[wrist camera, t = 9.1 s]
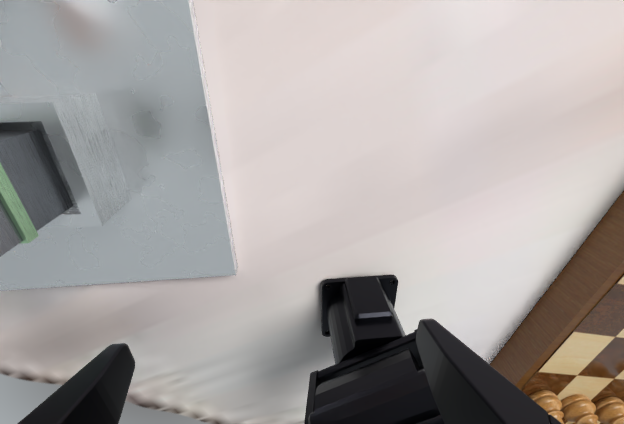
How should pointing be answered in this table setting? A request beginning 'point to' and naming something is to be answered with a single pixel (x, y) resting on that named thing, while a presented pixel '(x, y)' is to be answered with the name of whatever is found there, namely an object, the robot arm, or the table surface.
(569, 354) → the chess set
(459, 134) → the table surface
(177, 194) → the base
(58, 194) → the block
